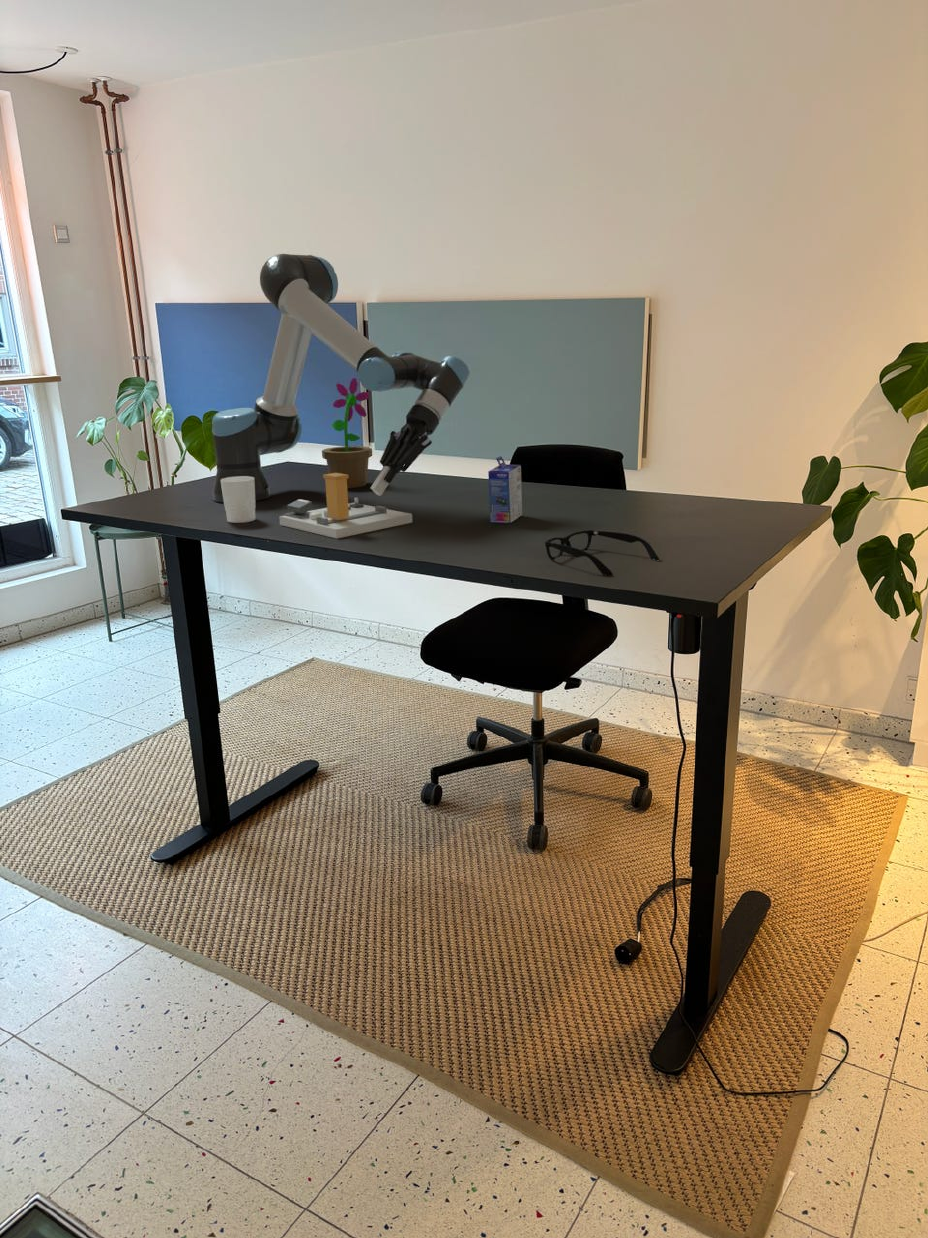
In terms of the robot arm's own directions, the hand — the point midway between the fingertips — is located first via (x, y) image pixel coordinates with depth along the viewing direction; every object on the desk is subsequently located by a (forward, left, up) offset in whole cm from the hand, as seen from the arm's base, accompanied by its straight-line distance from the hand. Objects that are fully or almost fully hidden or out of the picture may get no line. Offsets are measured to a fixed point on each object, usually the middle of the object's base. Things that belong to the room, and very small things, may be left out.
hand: (375, 491), depth 214 cm
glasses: (+62, +5, -8) cm, 62 cm away
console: (-4, -6, -7) cm, 10 cm away
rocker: (-12, -13, -3) cm, 18 cm away
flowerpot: (-47, +28, -7) cm, 55 cm away
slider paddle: (0, -11, -4) cm, 12 cm away
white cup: (-27, -20, -7) cm, 34 cm away
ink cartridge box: (+21, +22, -7) cm, 31 cm away
